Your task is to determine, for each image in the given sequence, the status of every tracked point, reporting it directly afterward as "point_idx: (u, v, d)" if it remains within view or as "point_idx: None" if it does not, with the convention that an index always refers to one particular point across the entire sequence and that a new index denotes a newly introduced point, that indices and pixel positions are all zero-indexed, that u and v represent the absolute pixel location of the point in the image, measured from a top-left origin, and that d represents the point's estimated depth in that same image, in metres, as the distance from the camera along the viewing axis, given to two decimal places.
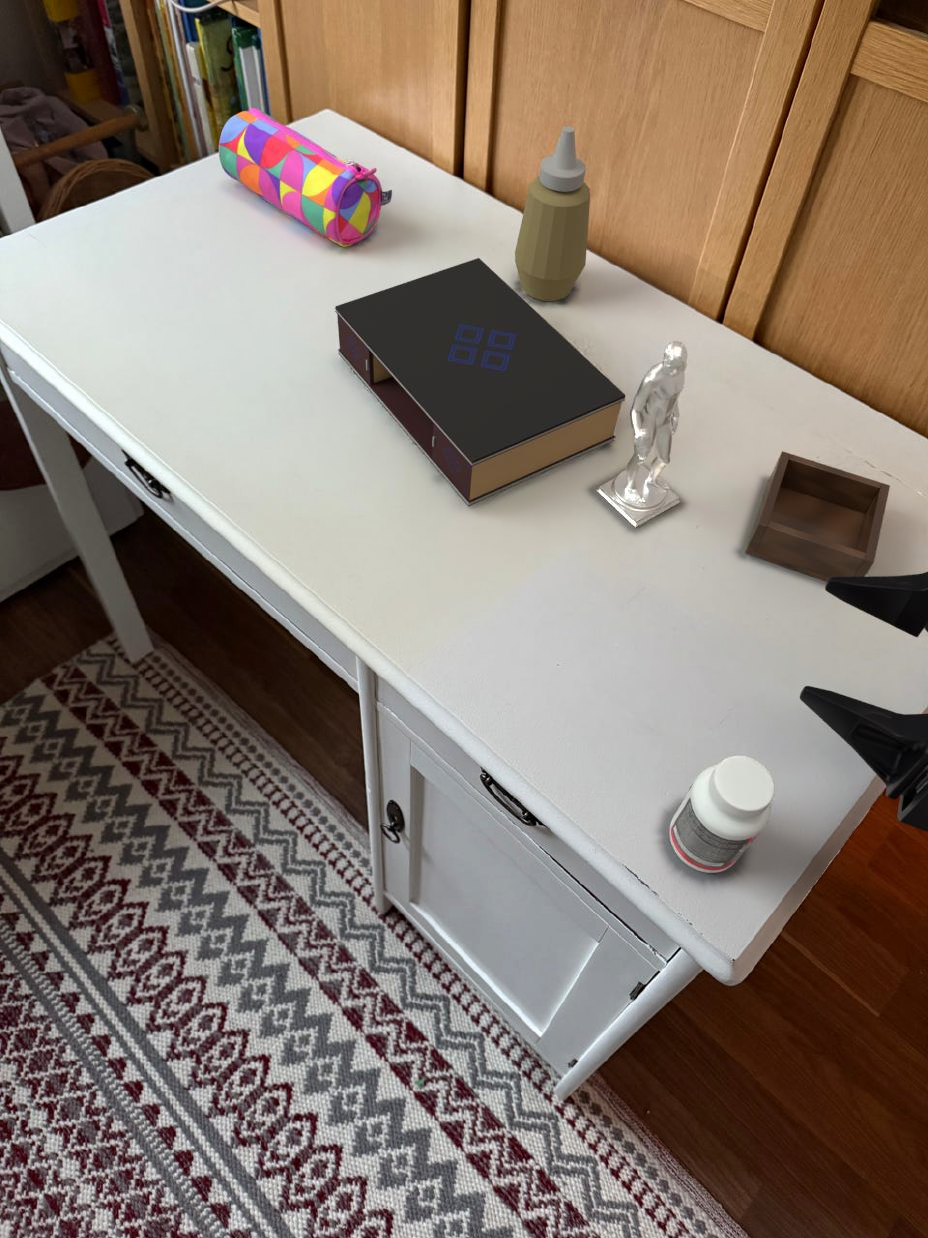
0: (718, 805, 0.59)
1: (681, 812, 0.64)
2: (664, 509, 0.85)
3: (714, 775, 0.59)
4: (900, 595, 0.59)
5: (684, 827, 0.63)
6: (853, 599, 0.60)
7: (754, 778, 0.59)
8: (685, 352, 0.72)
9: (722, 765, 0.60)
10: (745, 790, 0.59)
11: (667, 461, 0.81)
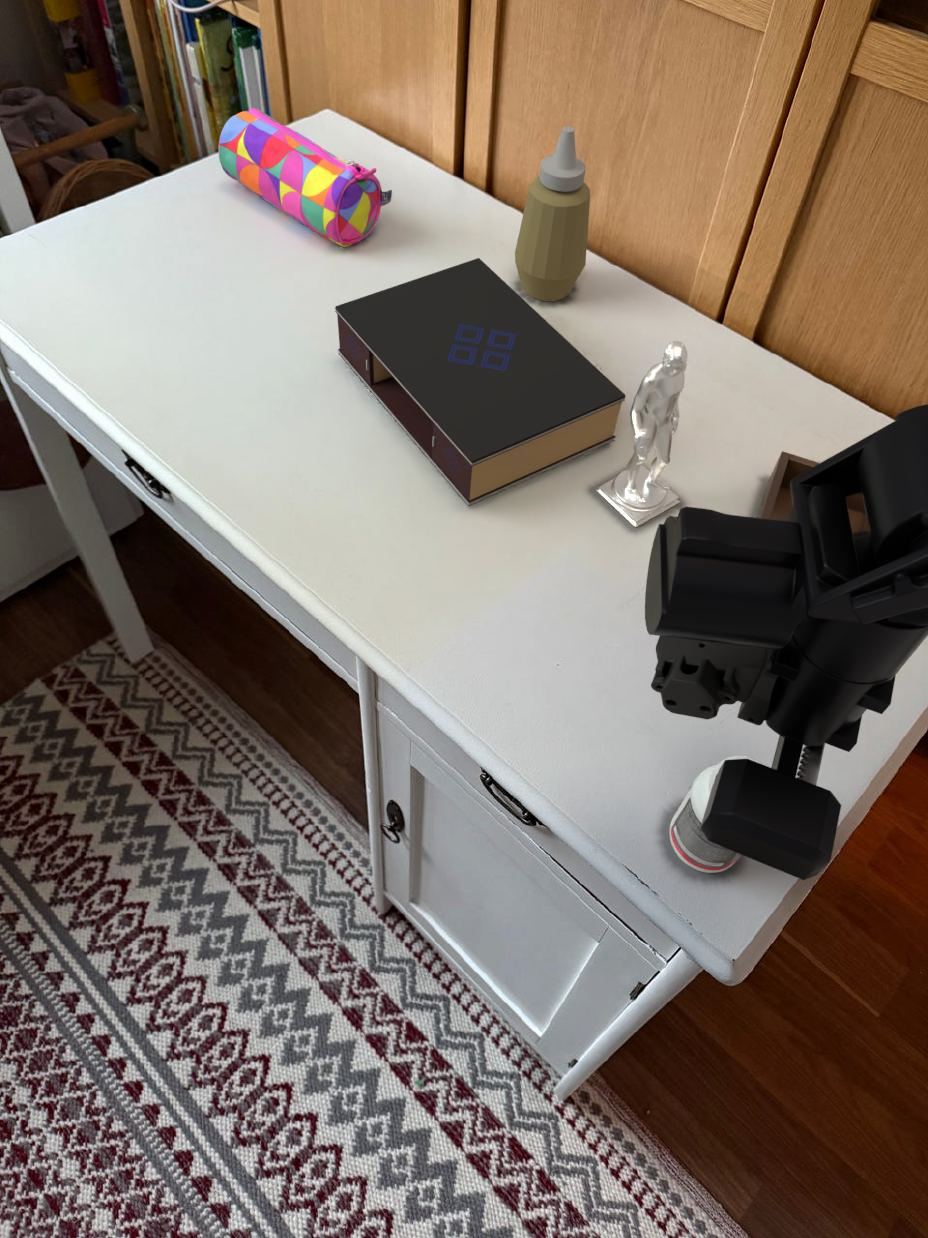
0: None
1: (681, 812, 0.64)
2: (664, 509, 0.85)
3: (714, 775, 0.59)
4: None
5: (684, 827, 0.63)
6: None
7: None
8: (685, 352, 0.72)
9: None
10: None
11: (667, 461, 0.81)
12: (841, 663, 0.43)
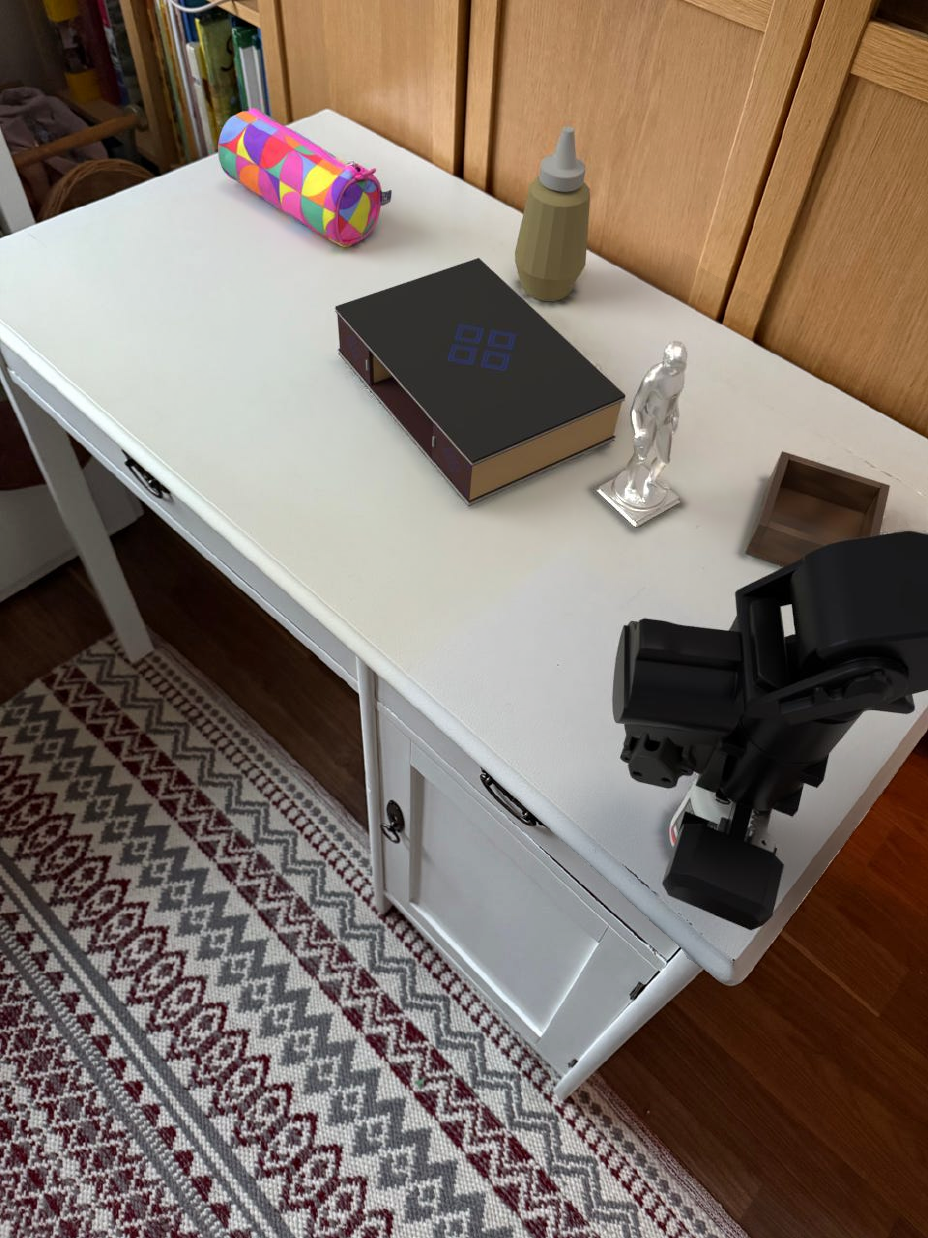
0: (718, 805, 0.59)
1: (681, 812, 0.64)
2: (664, 509, 0.85)
3: None
4: None
5: None
6: None
7: None
8: (685, 352, 0.72)
9: None
10: None
11: (667, 461, 0.81)
12: (779, 747, 0.50)
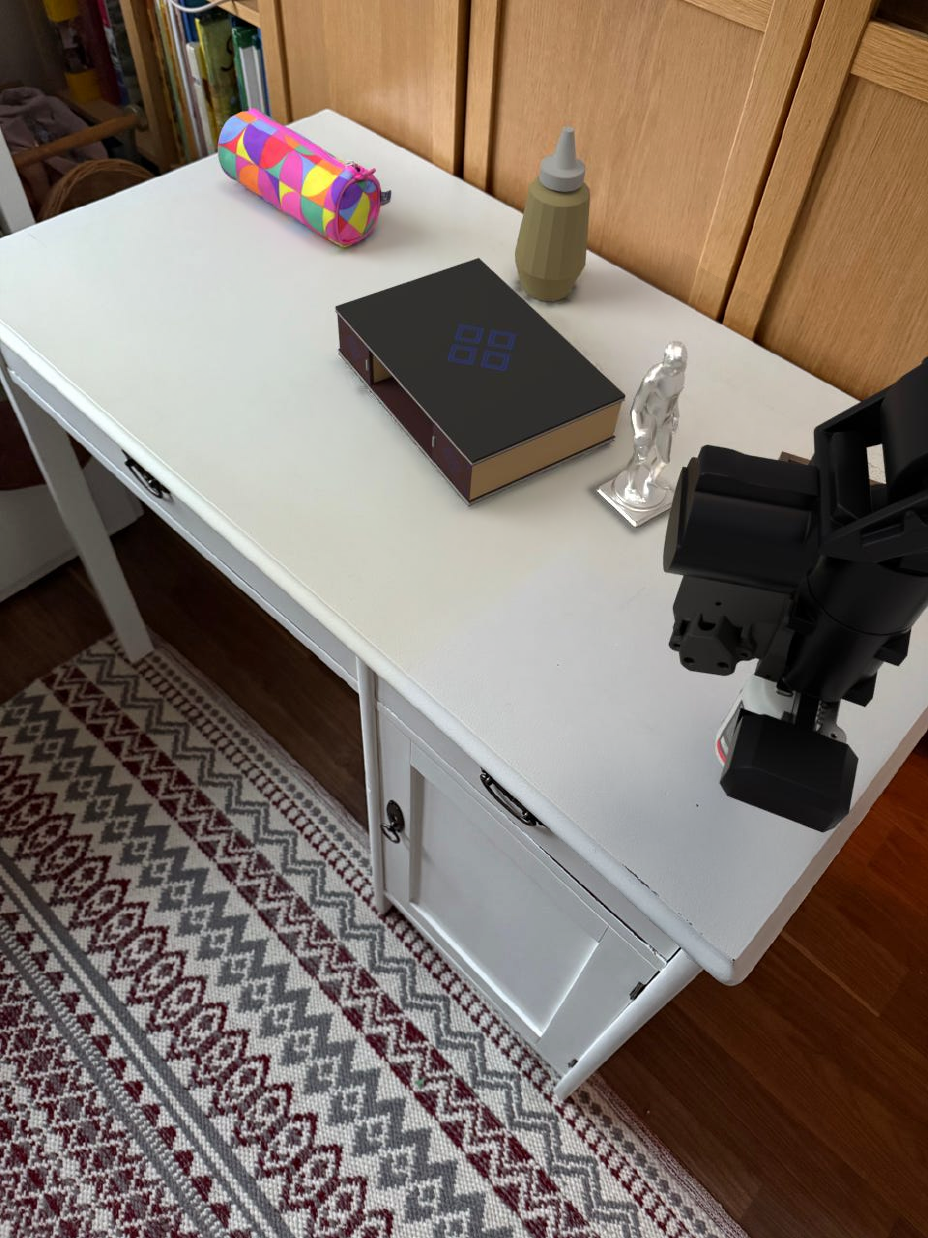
0: (776, 703, 0.53)
1: (730, 719, 0.57)
2: (664, 509, 0.85)
3: None
4: None
5: None
6: None
7: None
8: (685, 352, 0.72)
9: None
10: None
11: (667, 461, 0.81)
12: (853, 611, 0.43)
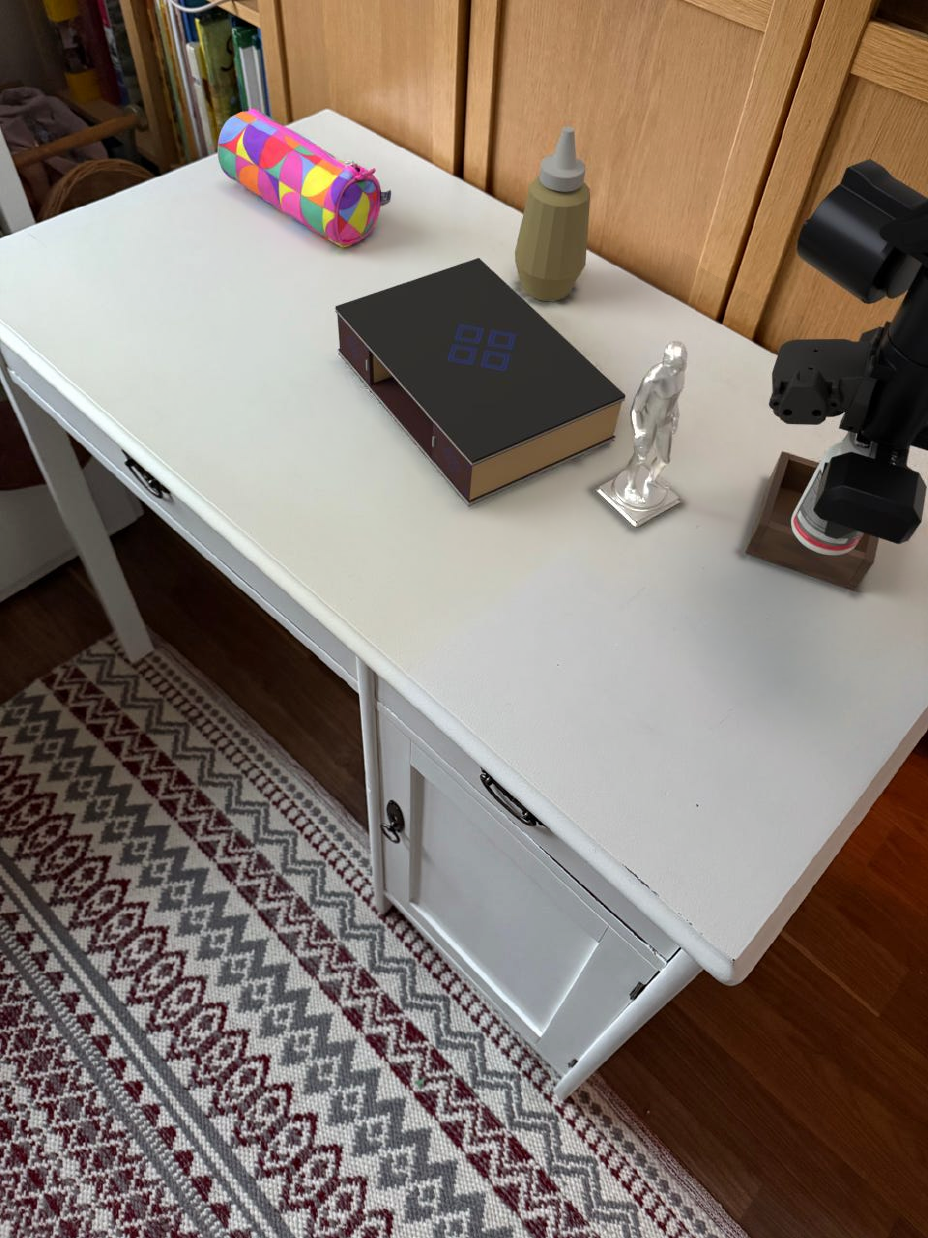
0: None
1: (808, 492, 0.68)
2: (664, 509, 0.85)
3: (847, 435, 0.64)
4: None
5: (811, 504, 0.68)
6: None
7: None
8: (685, 352, 0.72)
9: None
10: None
11: (667, 461, 0.81)
12: (901, 329, 0.55)
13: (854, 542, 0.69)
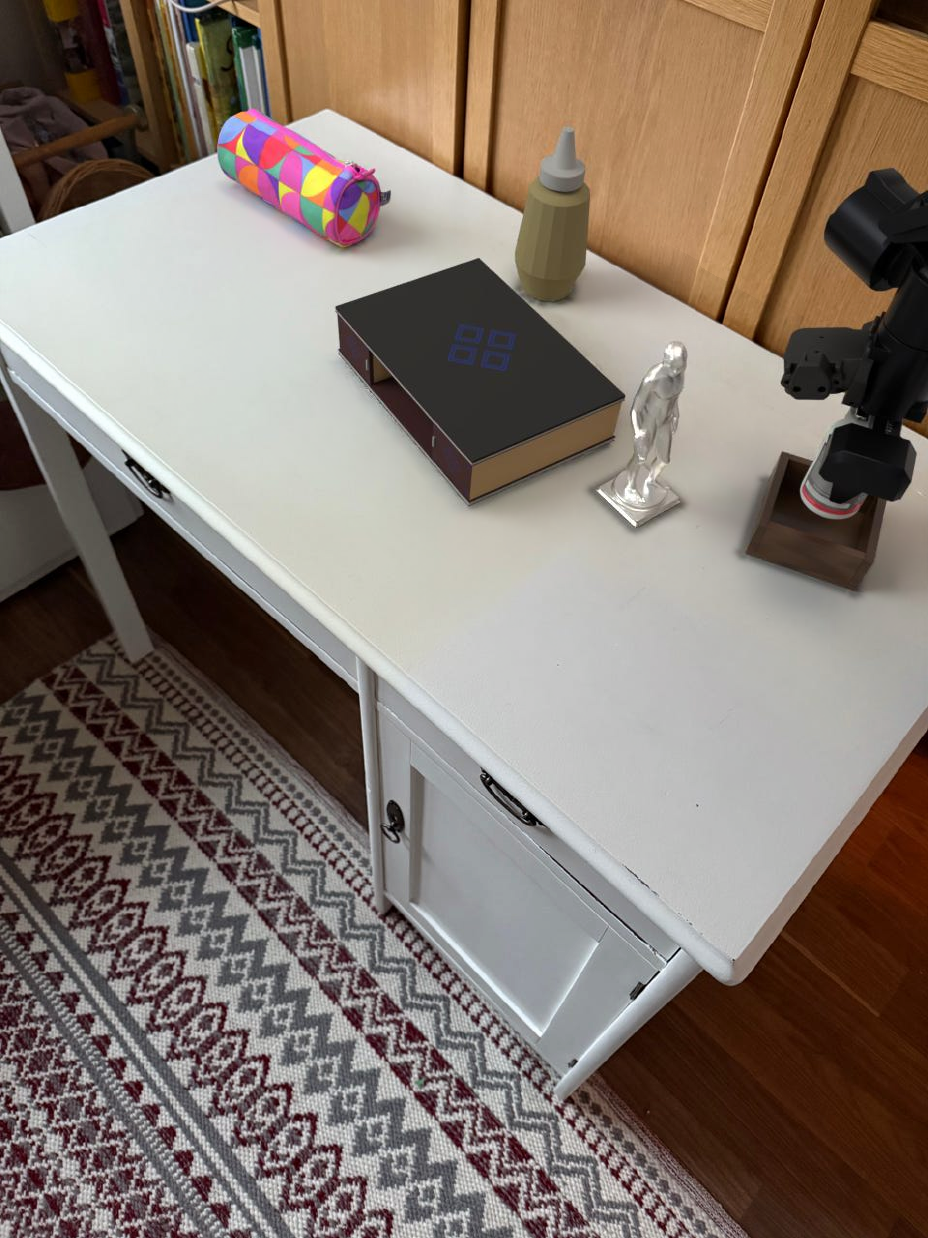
0: None
1: (814, 463, 0.78)
2: (664, 509, 0.85)
3: (849, 411, 0.73)
4: None
5: (817, 473, 0.77)
6: None
7: None
8: (685, 352, 0.72)
9: None
10: None
11: (667, 461, 0.81)
12: (891, 311, 0.65)
13: (855, 507, 0.78)
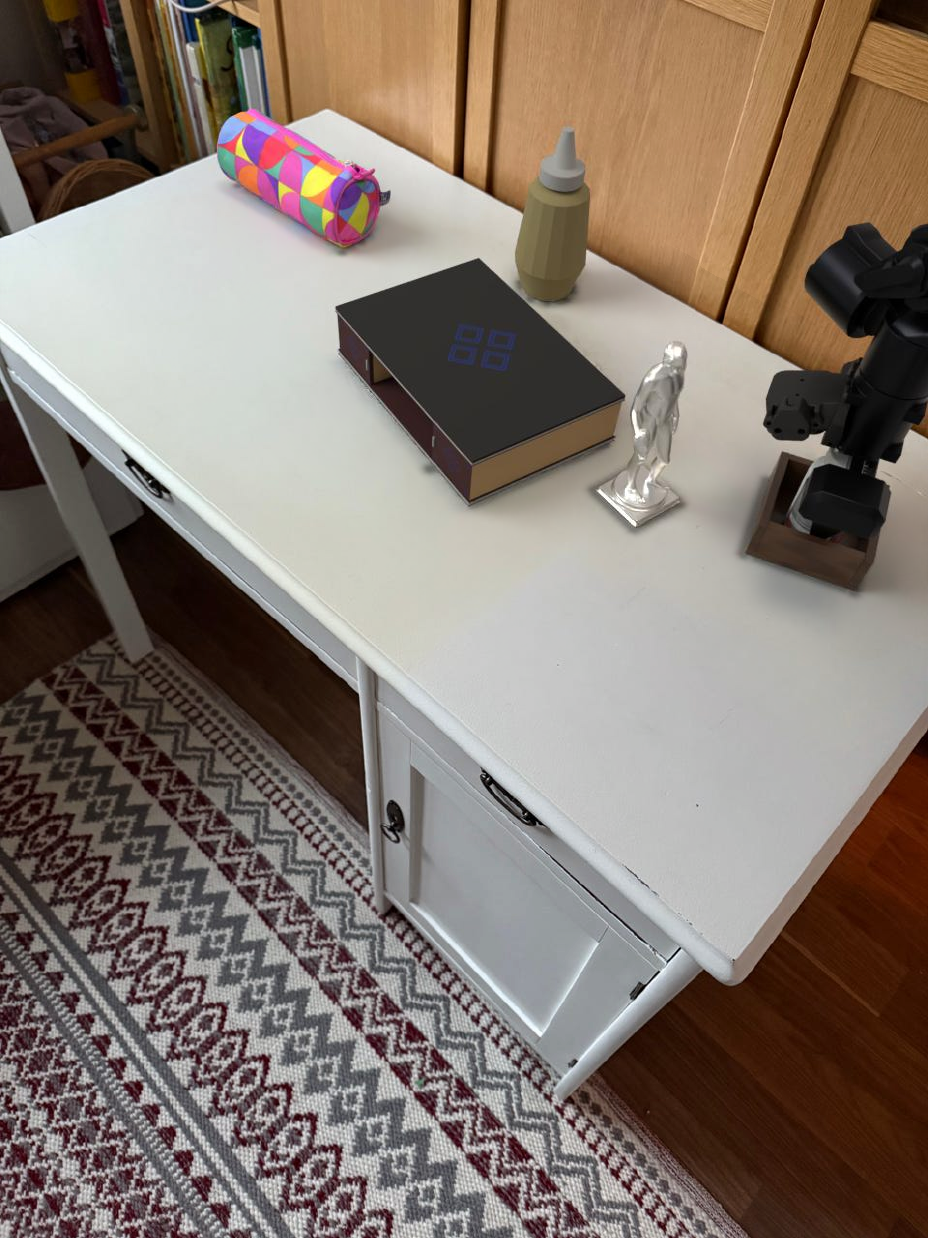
0: None
1: (797, 497, 0.81)
2: (664, 509, 0.85)
3: (829, 450, 0.77)
4: None
5: None
6: None
7: None
8: (685, 352, 0.72)
9: None
10: None
11: (667, 461, 0.81)
12: (866, 360, 0.69)
13: (836, 539, 0.82)
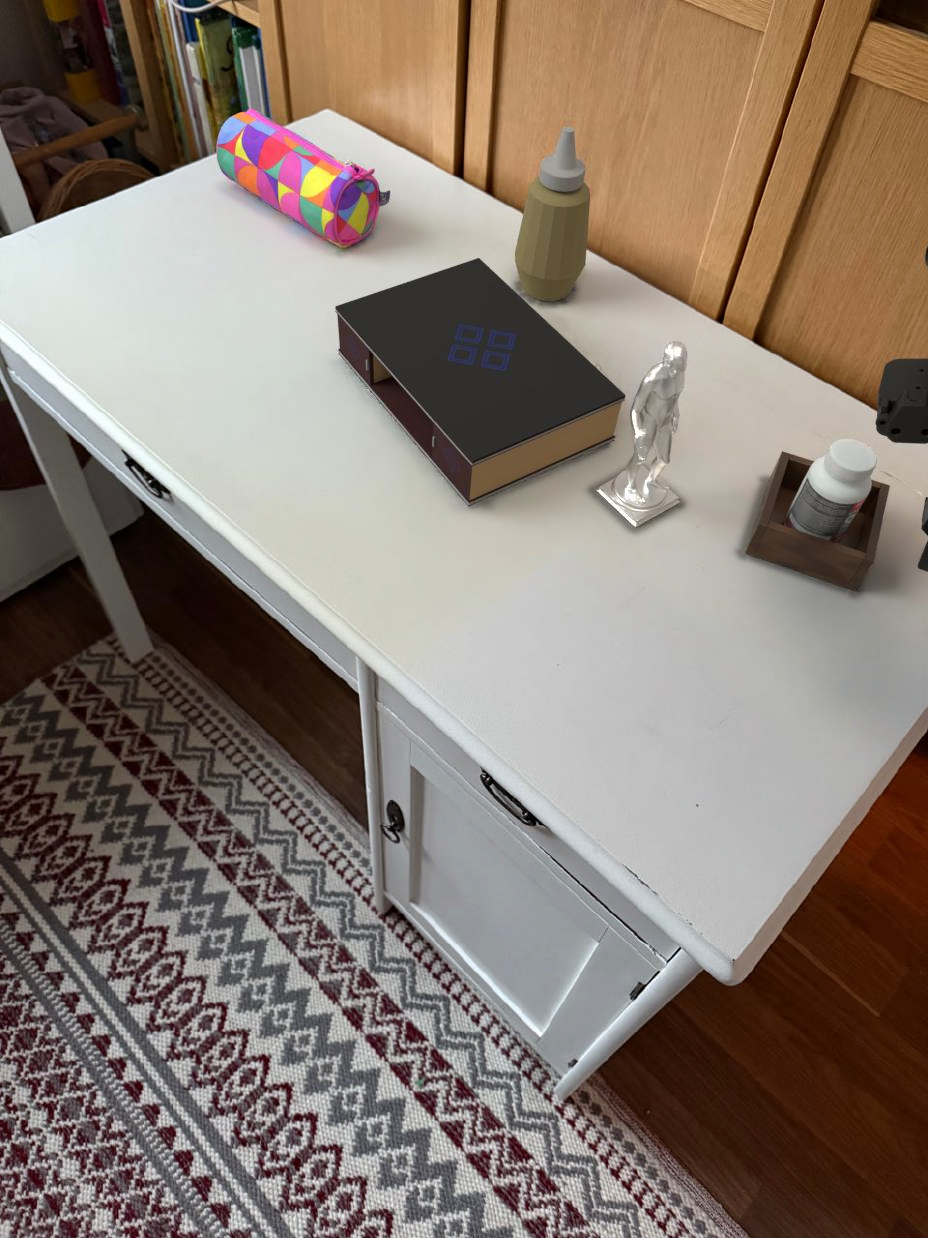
0: (833, 472, 0.77)
1: (797, 497, 0.81)
2: (664, 509, 0.85)
3: (830, 450, 0.77)
4: None
5: (800, 507, 0.81)
6: None
7: (861, 452, 0.77)
8: (685, 352, 0.72)
9: (835, 444, 0.77)
10: (854, 459, 0.76)
11: (667, 461, 0.81)
12: None
13: (836, 539, 0.82)
